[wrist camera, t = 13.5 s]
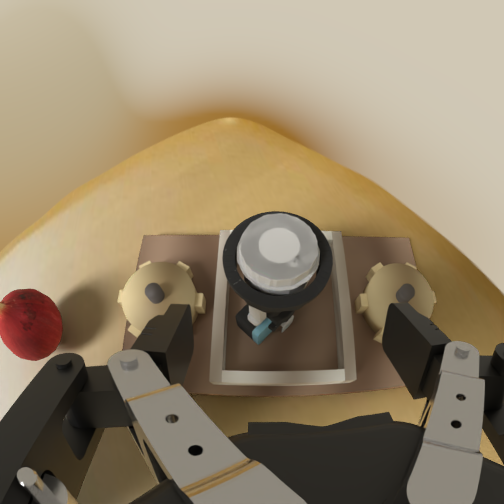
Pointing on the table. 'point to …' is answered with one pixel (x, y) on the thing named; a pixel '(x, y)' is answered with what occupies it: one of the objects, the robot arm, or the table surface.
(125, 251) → the table surface
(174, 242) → the gear board
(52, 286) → the table surface
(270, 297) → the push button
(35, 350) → the onion
